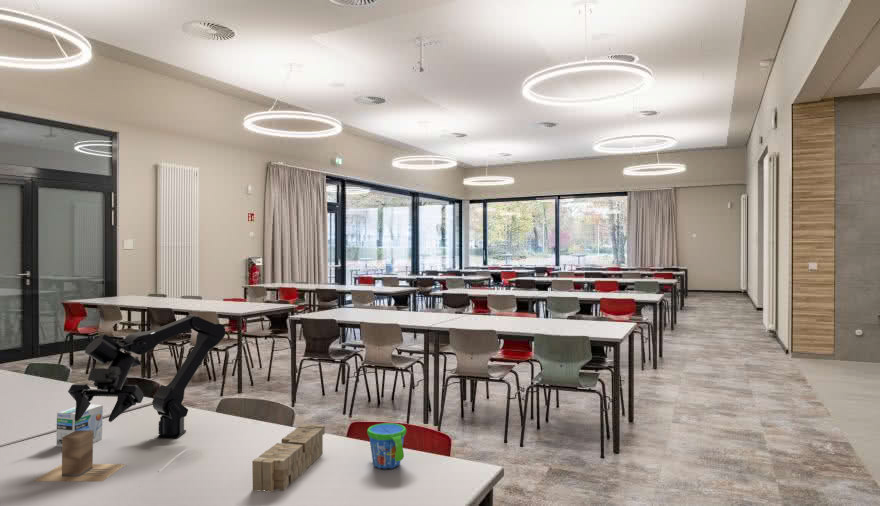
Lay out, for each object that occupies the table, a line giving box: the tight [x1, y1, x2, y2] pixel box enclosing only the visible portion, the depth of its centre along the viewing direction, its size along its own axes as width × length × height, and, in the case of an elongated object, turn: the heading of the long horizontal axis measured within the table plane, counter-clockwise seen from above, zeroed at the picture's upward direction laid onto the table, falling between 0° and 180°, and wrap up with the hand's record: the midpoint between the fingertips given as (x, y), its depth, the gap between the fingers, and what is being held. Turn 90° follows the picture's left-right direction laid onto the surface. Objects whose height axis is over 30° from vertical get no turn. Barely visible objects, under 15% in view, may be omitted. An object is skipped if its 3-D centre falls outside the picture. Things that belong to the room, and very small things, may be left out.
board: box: [33, 463, 127, 482], centre depth 143 cm, size 17×11×1 cm, turn 92°
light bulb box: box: [55, 403, 104, 448], centre depth 167 cm, size 11×7×11 cm, turn 168°
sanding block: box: [61, 431, 94, 477], centre depth 143 cm, size 4×6×10 cm
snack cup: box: [366, 422, 407, 470], centre depth 153 cm, size 16×10×10 cm
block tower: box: [252, 423, 326, 492], centre depth 149 cm, size 8×8×29 cm
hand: (92, 420), depth 150 cm, fingers open, 9 cm apart
